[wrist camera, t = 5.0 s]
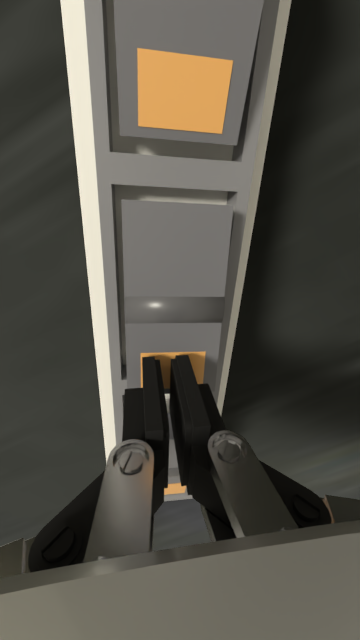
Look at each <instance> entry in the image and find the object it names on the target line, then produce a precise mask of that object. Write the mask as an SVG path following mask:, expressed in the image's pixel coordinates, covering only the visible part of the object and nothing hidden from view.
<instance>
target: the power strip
mask: <svg viewBox="0 0 360 640" xmlns="http://www.w3.org/2000/svg"><path fill="white" fill-rule="evenodd" d="M290 6H291V0H264V3H263V8H262V14H261V19H260V24H259V30H258V35H257V40H256V46H255V51H254V56H253V62H252V67H251V72H250V78H249V83H248V88H247V94H246V99H245V104H244V110H243V115H242V120H241V126H240V131H239V136H238V141H237V146H236V145H224V144H212V143H201V142H189V141H178V140H166V139H154V138H143V137H131V136H120V125H119V105H118V84H117V64H116V43H115V23H114V2H113V0H61V10H62V20H63V30H64V40H65V50H66V60H67V70H68V80H69V91H70V101H71V111H72V121H73V131H74V141H75V151H76V161H77V171H78V181H79V191H80V201H81V211H82V221H83V231H84V241H85V251H86V261H87V271H88V281H89V291H90V301H91V312H92V322H93V332H94V342H95V352H96V362H97V372H98V382H99V392H100V402H101V412H102V422H103V432H104V442H105V452H106V462H107V460H108V457H109V454H110V452H111V451H112V449H113V448H114V447H115V446H116V445H118V444H119V443H121V442H122V434H123V413H124V393H125V389H127V367H126V335H125V313H124V270H123V238H122V205H121V199H124V200H142V201H161V202H180V203H198V204H217V205H234V206H233V216H232V226H231V236H230V246H229V256H228V266H227V276H226V285H225V295H224V299H225V310H224V317H223V321H222V325H221V335H220V345H219V354H218V364H217V374H216V384H215V392H212V394H213V397H214V400H215V402H216V405H217V408H218V410H219V413H220V416H221V415H222V409H223V403H224V397H225V391H226V385H227V379H228V373H229V367H230V361H231V355H232V349H233V343H234V337H235V332H236V326H237V320H238V314H239V308H240V302H241V296H242V290H243V284H244V278H245V272H246V266H247V260H248V254H249V249H250V243H251V237H252V231H253V225H254V219H255V213H256V207H257V201H258V195H259V189H260V183H261V177H262V172H263V166H264V160H265V154H266V148H267V142H268V136H269V130H270V124H271V118H272V112H273V106H274V100H275V94H276V89H277V83H278V77H279V71H280V65H281V59H282V53H283V47H284V41H285V35H286V29H287V23H288V17H289V11H290ZM165 399H166V406H167V413H170V409H169V401H170V394H165ZM191 498H192V495H188V494H177V495H167V496H164V501H172V500H181V499H191Z"/></svg>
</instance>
